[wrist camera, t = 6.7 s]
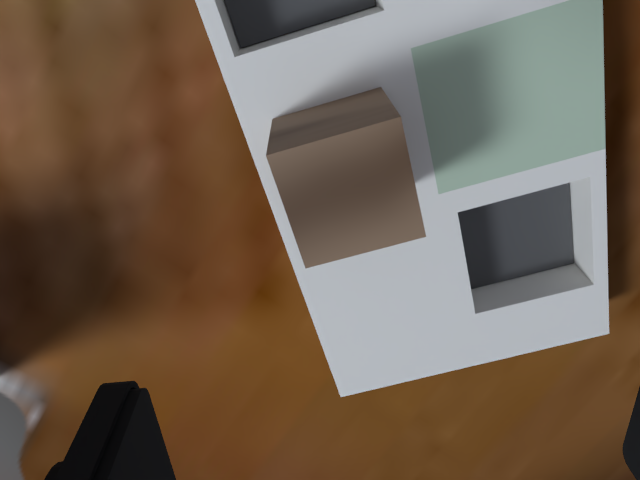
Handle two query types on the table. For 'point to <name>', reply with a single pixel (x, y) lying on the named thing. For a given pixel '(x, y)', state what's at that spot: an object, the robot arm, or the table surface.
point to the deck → (444, 171)
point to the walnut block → (345, 177)
